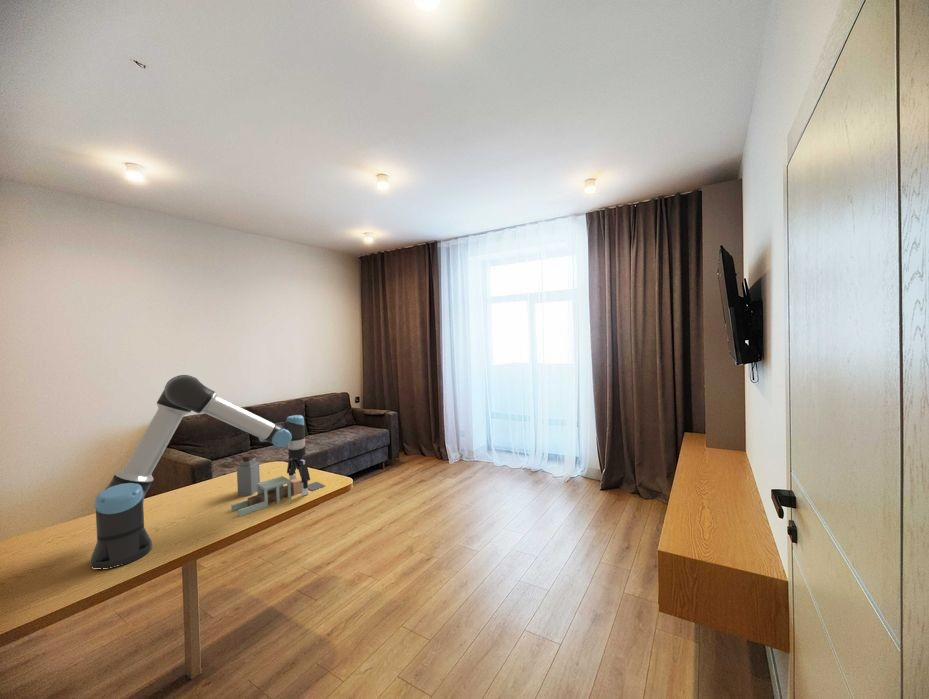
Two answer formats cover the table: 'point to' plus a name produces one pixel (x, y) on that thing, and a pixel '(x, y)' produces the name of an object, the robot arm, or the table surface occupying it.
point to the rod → (269, 496)
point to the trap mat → (315, 486)
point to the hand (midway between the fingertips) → (298, 491)
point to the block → (296, 485)
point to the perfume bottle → (248, 475)
